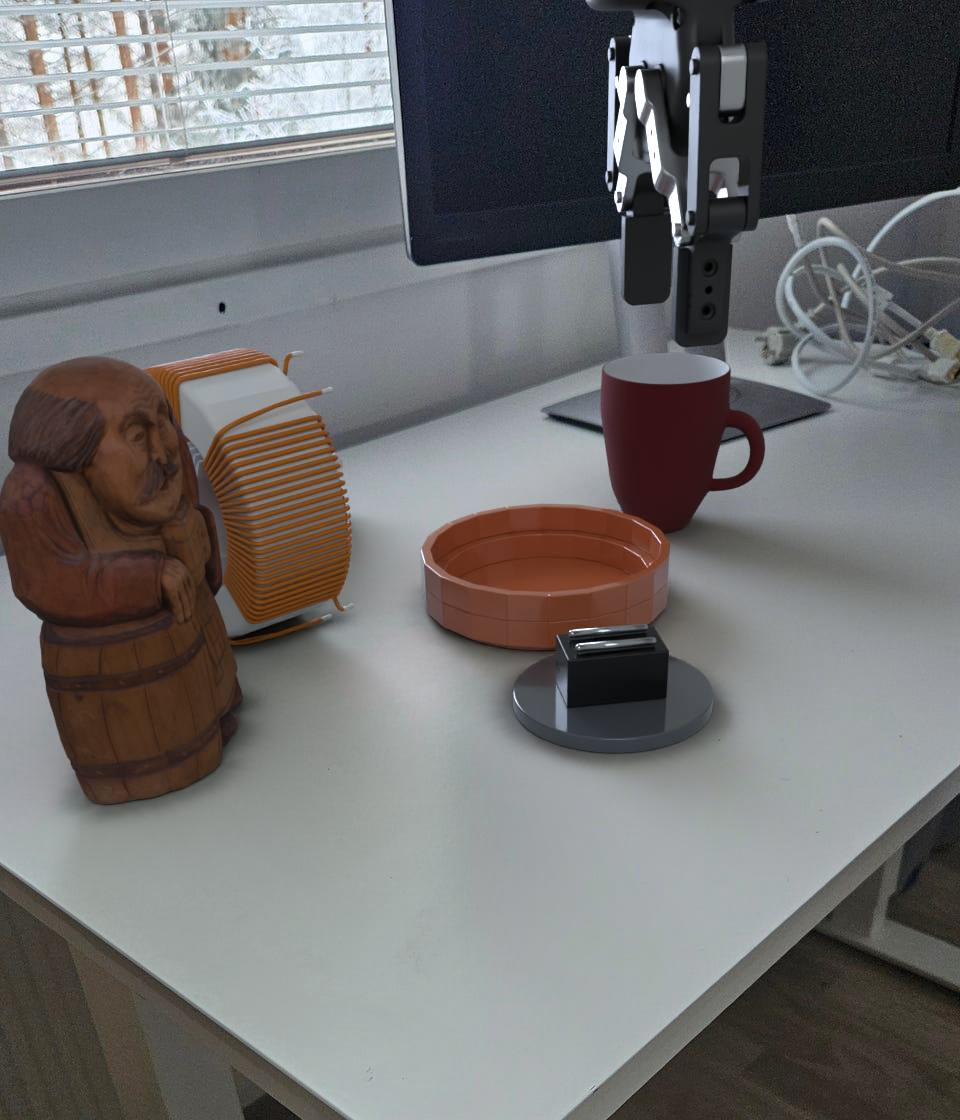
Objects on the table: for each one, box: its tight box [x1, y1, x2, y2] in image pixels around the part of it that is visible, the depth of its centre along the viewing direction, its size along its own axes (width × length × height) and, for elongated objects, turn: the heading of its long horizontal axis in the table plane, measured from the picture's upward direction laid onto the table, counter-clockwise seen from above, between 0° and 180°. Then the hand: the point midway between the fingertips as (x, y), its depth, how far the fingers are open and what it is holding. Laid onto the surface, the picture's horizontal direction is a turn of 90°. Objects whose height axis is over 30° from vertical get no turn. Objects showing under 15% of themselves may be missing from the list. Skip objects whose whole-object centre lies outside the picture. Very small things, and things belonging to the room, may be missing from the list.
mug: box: [600, 352, 766, 534], centre depth 80 cm, size 11×8×10 cm
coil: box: [143, 347, 356, 646], centre depth 68 cm, size 7×15×15 cm, turn 40°
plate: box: [512, 654, 714, 754], centre depth 62 cm, size 10×10×1 cm
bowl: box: [420, 503, 672, 651], centre depth 72 cm, size 14×14×4 cm
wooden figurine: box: [0, 355, 244, 805], centre depth 55 cm, size 12×6×18 cm, turn 173°
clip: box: [555, 623, 670, 708], centre depth 61 cm, size 5×3×3 cm, turn 98°
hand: (669, 322), depth 54 cm, fingers open, 8 cm apart
